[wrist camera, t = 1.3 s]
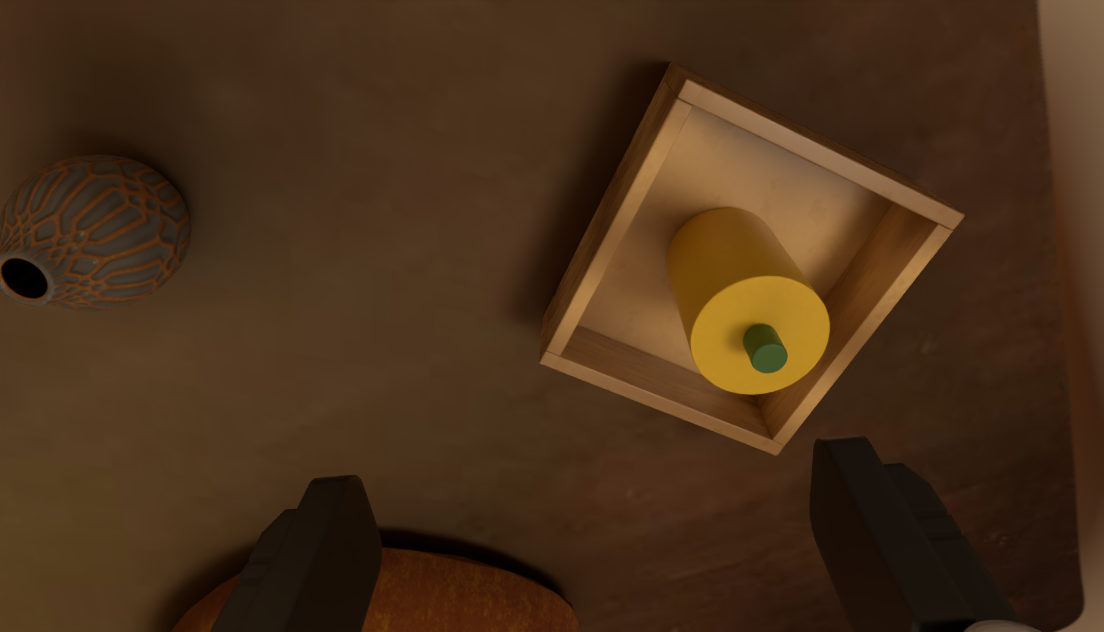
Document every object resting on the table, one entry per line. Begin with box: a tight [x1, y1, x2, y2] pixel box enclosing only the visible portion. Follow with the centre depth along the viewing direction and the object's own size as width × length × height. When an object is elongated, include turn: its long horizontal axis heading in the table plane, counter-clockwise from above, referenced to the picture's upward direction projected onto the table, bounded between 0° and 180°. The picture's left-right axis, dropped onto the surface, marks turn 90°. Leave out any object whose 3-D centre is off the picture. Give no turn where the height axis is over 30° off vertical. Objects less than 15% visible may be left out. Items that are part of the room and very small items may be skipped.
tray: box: [539, 62, 965, 455], centre depth 33 cm, size 15×14×5 cm
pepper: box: [666, 207, 830, 395], centre depth 30 cm, size 6×6×10 cm
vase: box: [0, 155, 191, 311], centre depth 31 cm, size 7×7×9 cm
